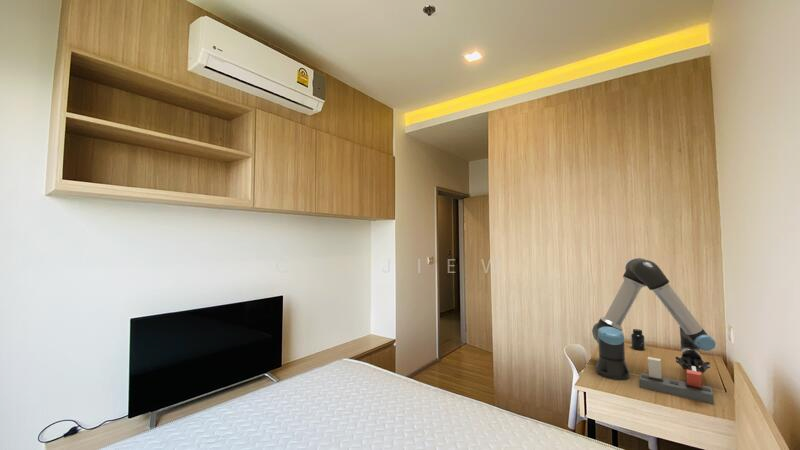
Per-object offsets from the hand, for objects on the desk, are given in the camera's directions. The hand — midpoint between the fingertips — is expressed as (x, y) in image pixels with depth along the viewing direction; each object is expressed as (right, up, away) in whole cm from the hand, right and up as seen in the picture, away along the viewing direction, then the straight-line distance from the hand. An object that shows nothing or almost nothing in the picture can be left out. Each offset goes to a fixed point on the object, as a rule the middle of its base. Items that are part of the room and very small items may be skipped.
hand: (694, 373), depth 147 cm
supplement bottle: (+19, -12, +61) cm, 65 cm away
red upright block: (+2, -6, +2) cm, 7 cm away
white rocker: (-9, -7, +11) cm, 16 cm away
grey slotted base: (-4, -11, +6) cm, 13 cm away
